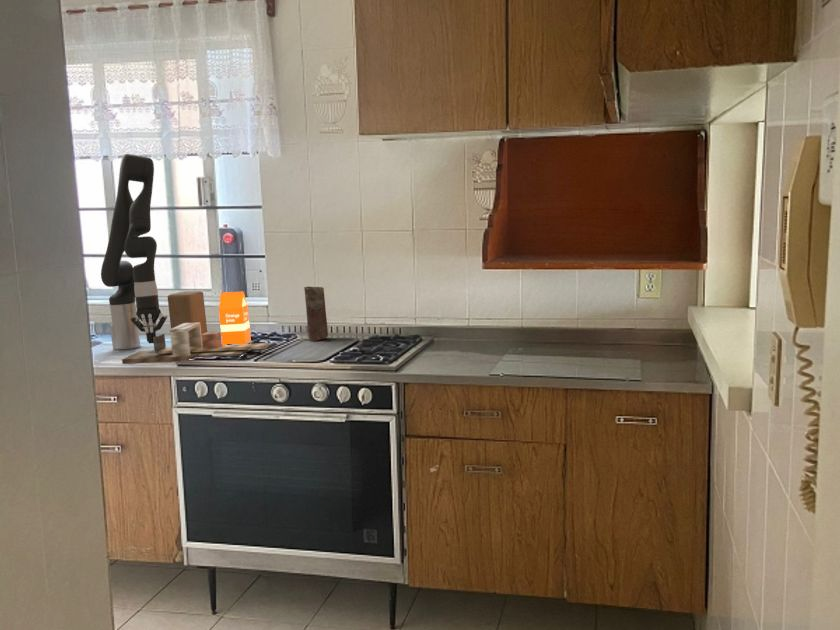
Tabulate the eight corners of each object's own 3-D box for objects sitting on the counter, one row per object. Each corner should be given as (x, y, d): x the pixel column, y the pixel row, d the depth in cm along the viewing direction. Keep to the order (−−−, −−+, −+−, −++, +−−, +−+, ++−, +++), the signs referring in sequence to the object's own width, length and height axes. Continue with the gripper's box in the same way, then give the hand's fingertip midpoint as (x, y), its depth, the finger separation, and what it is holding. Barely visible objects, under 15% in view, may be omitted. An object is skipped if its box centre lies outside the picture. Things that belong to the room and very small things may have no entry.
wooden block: (172, 347, 301) (166, 294, 298) (186, 342, 311) (181, 291, 308) (195, 347, 298) (189, 294, 295) (209, 342, 308) (204, 290, 305)
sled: (154, 354, 278) (153, 337, 277) (162, 350, 285) (161, 333, 284) (264, 349, 274) (262, 332, 273) (269, 345, 281) (268, 328, 280)
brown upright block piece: (309, 338, 302) (305, 285, 299) (329, 336, 302) (324, 284, 299) (307, 342, 294) (303, 288, 291) (327, 340, 294) (323, 286, 291)
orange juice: (246, 346, 293) (240, 292, 290) (222, 348, 293) (216, 294, 290) (251, 342, 300) (246, 290, 297) (228, 343, 301) (223, 291, 298)
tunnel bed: (122, 363, 276) (118, 332, 274) (139, 355, 289) (136, 325, 288) (240, 358, 272) (237, 326, 270) (252, 349, 286) (249, 319, 284)
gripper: (123, 296, 275) (129, 345, 278) (160, 294, 274) (165, 344, 276) (132, 293, 282) (138, 341, 285) (168, 291, 281) (174, 340, 284)
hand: (152, 342), depth 281 cm, fingers closed
